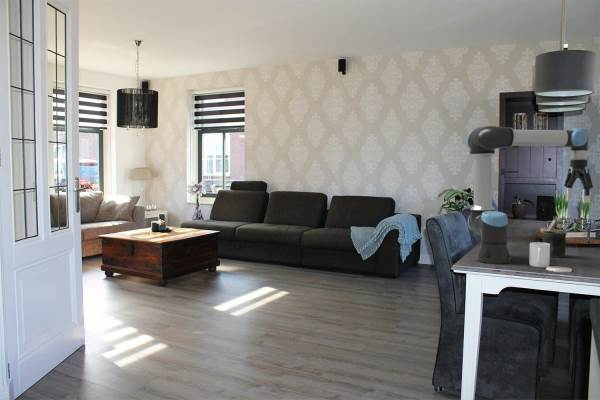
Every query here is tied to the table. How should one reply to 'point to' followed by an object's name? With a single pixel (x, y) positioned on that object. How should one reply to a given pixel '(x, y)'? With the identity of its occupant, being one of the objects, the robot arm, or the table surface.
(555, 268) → the saucer
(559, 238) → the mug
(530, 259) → the cup
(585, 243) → the table surface
